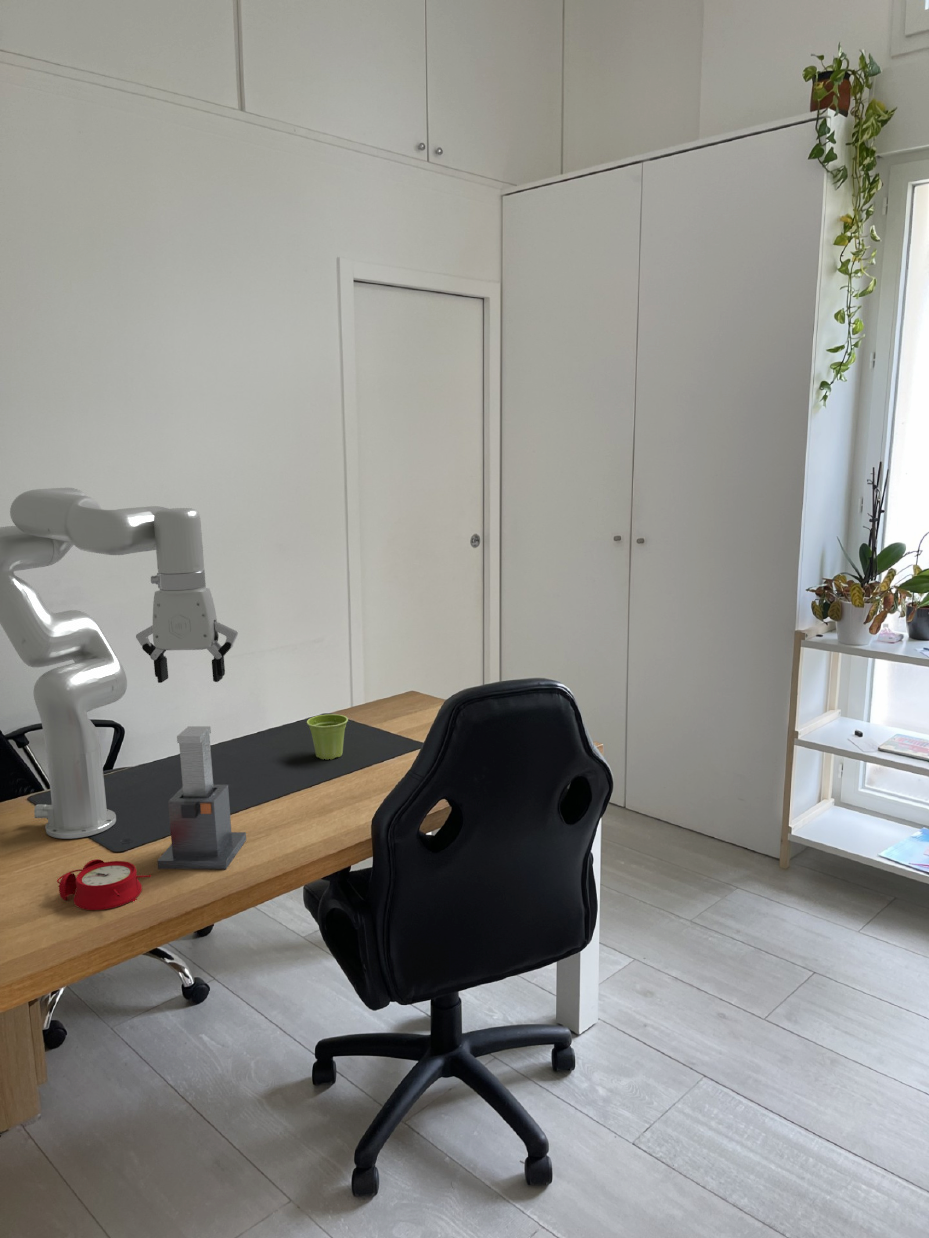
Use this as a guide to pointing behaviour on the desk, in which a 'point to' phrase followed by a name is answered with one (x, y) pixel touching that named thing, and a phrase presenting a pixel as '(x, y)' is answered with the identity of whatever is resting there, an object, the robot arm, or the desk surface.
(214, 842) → the stand base
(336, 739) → the plant pot
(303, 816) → the desk surface
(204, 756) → the column
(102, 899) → the alarm clock
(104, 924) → the desk surface
